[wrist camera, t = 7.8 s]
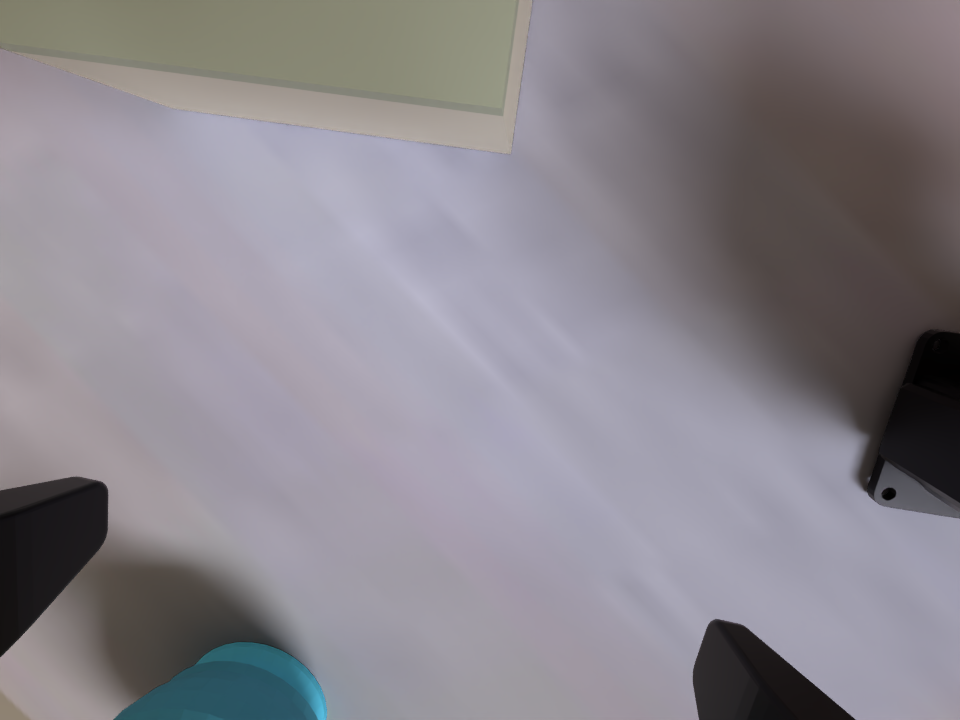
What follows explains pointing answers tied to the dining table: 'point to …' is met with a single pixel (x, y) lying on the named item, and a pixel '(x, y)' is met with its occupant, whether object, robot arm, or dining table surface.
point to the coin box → (298, 60)
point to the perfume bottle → (235, 689)
